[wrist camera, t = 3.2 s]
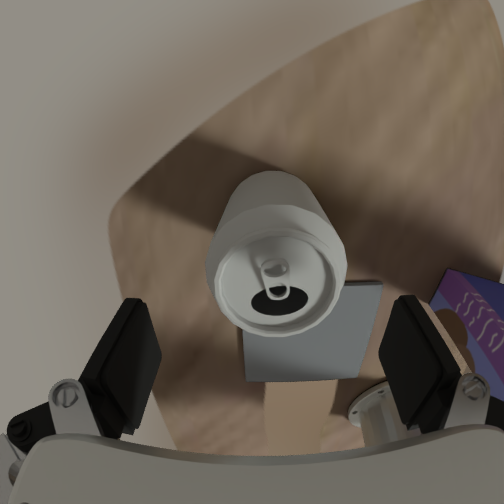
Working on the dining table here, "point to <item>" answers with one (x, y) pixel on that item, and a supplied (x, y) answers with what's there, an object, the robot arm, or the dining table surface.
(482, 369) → the cereal box
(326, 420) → the dining table surface
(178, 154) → the dining table surface
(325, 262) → the can
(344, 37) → the dining table surface
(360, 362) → the mat
